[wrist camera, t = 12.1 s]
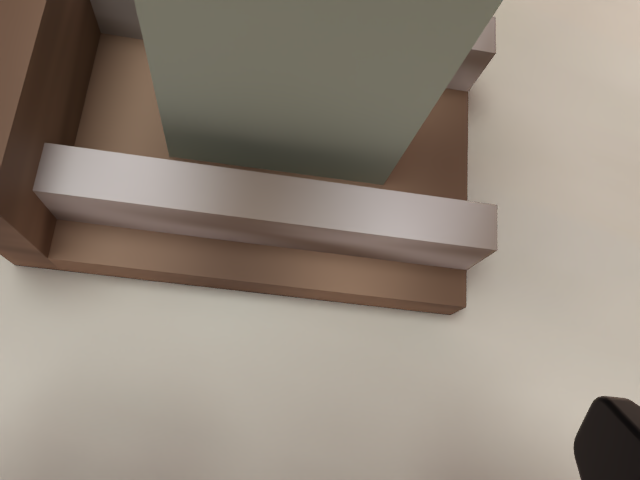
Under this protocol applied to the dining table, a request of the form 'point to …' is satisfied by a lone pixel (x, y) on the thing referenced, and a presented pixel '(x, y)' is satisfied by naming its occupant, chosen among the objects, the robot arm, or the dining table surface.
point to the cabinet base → (215, 182)
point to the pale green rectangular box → (304, 78)
